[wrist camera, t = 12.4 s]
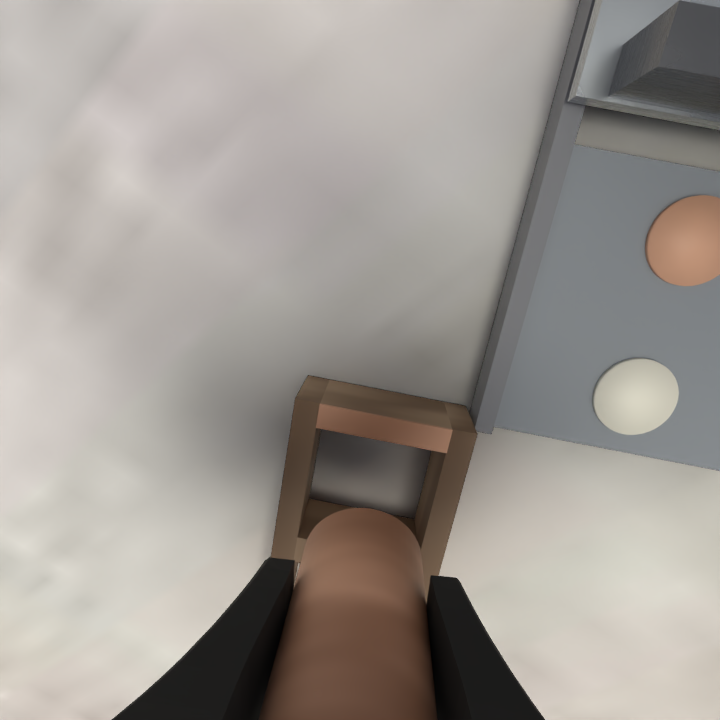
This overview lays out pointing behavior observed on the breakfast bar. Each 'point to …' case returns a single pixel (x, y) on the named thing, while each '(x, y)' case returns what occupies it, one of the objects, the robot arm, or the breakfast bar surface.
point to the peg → (355, 627)
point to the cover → (652, 60)
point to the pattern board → (609, 300)
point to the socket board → (386, 423)
